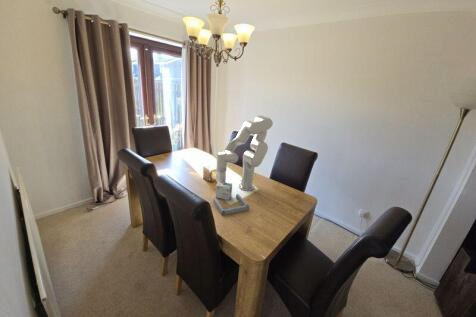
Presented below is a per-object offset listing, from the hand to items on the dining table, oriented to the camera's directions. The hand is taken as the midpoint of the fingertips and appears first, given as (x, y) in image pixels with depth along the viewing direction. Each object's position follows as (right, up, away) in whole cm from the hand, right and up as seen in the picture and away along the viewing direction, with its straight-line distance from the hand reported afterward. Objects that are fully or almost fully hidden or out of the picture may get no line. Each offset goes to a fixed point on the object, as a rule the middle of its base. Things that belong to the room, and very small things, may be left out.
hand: (220, 190), depth 158 cm
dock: (+9, -8, -16) cm, 20 cm away
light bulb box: (+3, -4, -6) cm, 8 cm away
